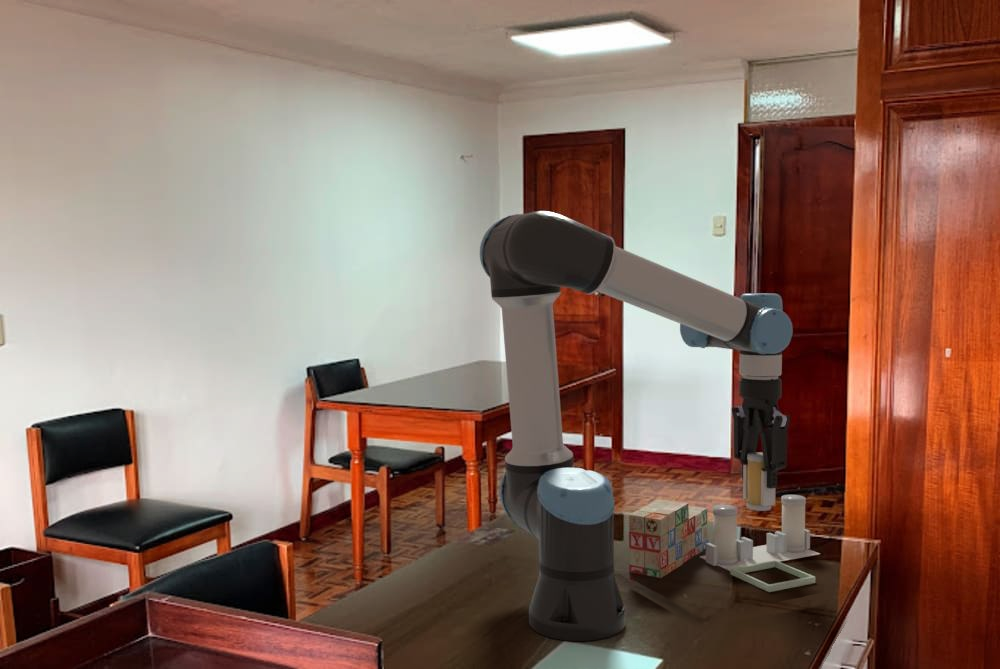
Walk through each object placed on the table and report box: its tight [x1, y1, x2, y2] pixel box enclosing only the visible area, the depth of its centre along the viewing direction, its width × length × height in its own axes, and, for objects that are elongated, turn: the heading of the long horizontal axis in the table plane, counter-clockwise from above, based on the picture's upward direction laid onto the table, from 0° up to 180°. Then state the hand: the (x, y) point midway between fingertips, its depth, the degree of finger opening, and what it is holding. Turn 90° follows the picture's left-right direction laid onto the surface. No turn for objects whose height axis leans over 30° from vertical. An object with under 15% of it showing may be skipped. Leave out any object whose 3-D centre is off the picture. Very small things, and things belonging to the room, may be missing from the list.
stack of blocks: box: [628, 498, 709, 583], centre depth 170 cm, size 21×6×12 cm, turn 145°
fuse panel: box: [698, 528, 820, 572], centre depth 171 cm, size 22×9×5 cm, turn 114°
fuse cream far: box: [780, 494, 807, 553], centre depth 174 cm, size 4×4×10 cm
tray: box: [729, 560, 816, 593], centre depth 159 cm, size 10×10×2 cm
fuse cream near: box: [711, 504, 738, 565], centre depth 168 cm, size 4×4×10 cm
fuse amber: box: [746, 451, 772, 512], centre depth 170 cm, size 4×4×10 cm
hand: (758, 501), depth 170 cm, fingers closed on fuse amber, 4 cm apart
